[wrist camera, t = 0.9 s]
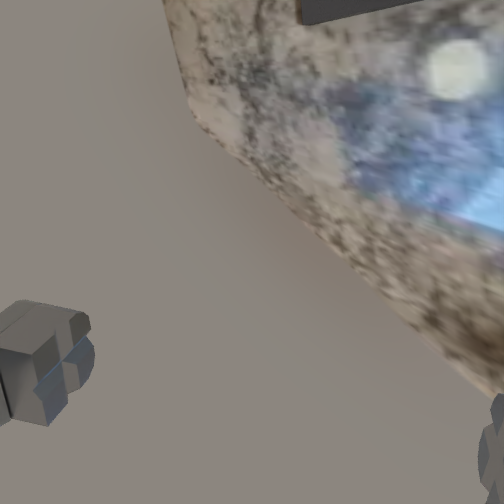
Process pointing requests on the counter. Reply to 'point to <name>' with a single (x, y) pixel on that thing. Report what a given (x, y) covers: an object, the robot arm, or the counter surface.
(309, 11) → the stand
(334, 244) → the counter surface
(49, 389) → the robot arm
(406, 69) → the counter surface
